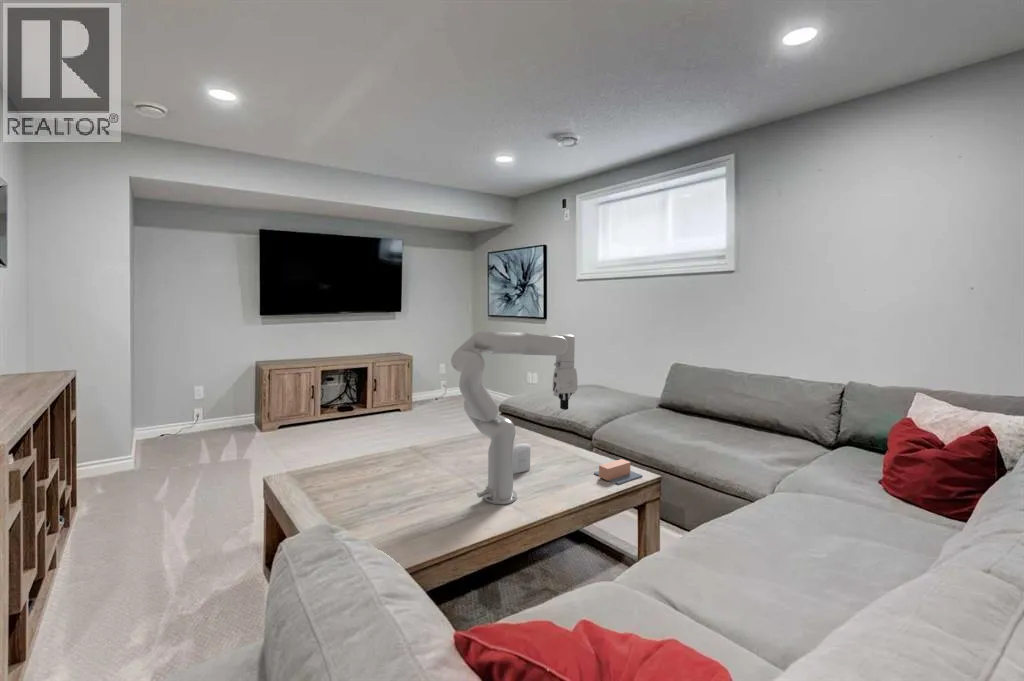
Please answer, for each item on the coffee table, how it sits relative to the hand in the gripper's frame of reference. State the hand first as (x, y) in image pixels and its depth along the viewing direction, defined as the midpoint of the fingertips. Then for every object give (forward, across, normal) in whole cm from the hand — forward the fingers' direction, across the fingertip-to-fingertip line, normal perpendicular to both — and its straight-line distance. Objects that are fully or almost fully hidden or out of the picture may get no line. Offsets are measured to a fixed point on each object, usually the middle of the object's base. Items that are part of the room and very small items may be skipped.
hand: (564, 408), depth 196 cm
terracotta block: (+28, +15, -8) cm, 33 cm away
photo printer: (+31, -8, +20) cm, 38 cm away
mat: (+31, +24, -8) cm, 40 cm away
